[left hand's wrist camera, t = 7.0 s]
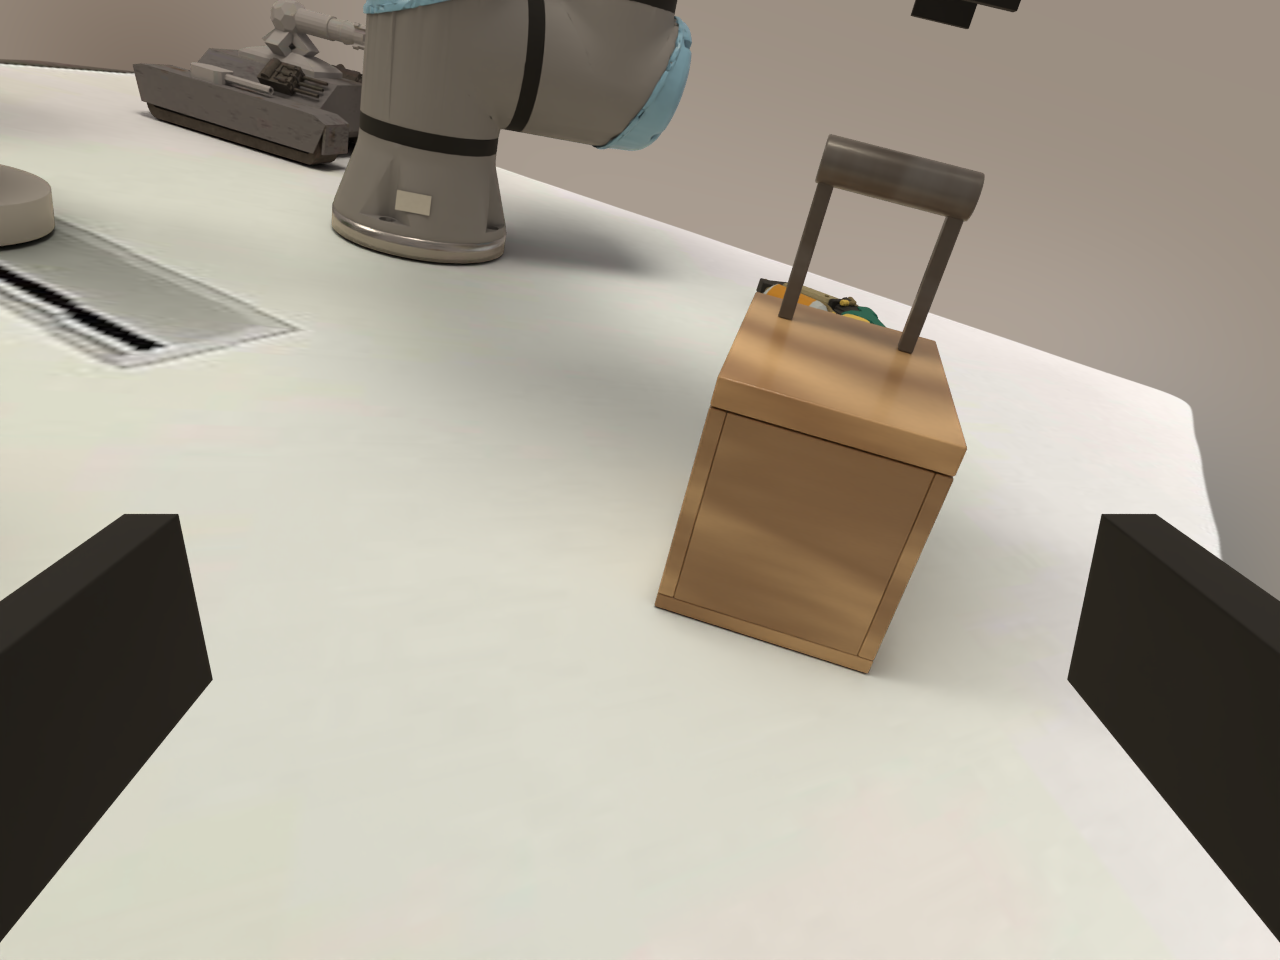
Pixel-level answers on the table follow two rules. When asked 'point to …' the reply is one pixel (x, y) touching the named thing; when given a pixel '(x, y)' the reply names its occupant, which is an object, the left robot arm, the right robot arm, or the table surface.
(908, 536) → the chest
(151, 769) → the table surface
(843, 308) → the spray gun
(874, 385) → the lid
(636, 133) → the right robot arm
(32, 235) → the bust sculpture
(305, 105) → the toy
